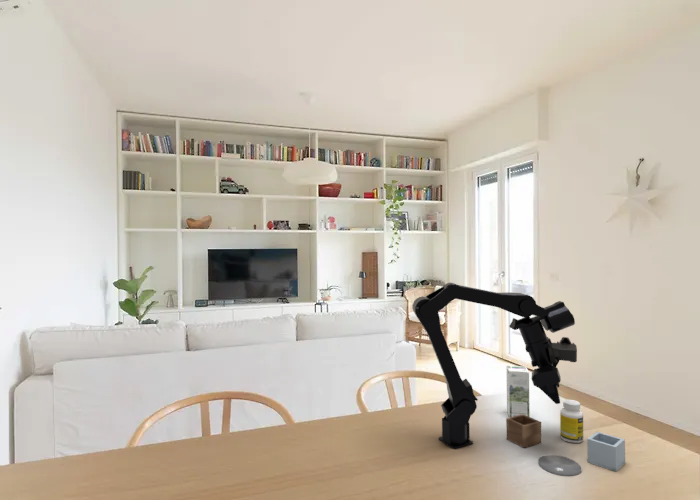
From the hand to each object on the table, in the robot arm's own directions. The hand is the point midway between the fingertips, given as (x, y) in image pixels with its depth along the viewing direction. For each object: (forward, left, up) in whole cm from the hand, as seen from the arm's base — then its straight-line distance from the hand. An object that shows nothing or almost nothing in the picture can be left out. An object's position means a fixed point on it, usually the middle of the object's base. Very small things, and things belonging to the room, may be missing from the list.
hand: (557, 395), depth 112 cm
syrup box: (+4, +18, -12) cm, 22 cm away
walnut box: (-8, +5, -12) cm, 15 cm away
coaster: (-11, -8, -12) cm, 18 cm away
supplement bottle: (+4, 0, -12) cm, 13 cm away
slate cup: (0, -12, -12) cm, 17 cm away
